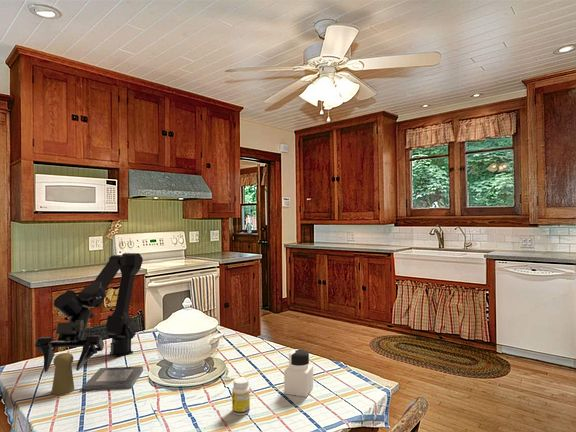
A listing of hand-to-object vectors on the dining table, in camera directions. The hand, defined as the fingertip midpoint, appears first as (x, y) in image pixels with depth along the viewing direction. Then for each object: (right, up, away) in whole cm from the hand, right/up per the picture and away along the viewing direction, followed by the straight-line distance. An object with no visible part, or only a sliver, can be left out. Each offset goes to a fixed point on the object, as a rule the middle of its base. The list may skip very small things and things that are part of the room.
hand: (61, 370), depth 113 cm
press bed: (+12, -7, +9) cm, 17 cm away
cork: (0, -7, +1) cm, 7 cm away
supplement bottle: (+55, -7, -11) cm, 57 cm away
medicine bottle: (+71, -7, +2) cm, 72 cm away
